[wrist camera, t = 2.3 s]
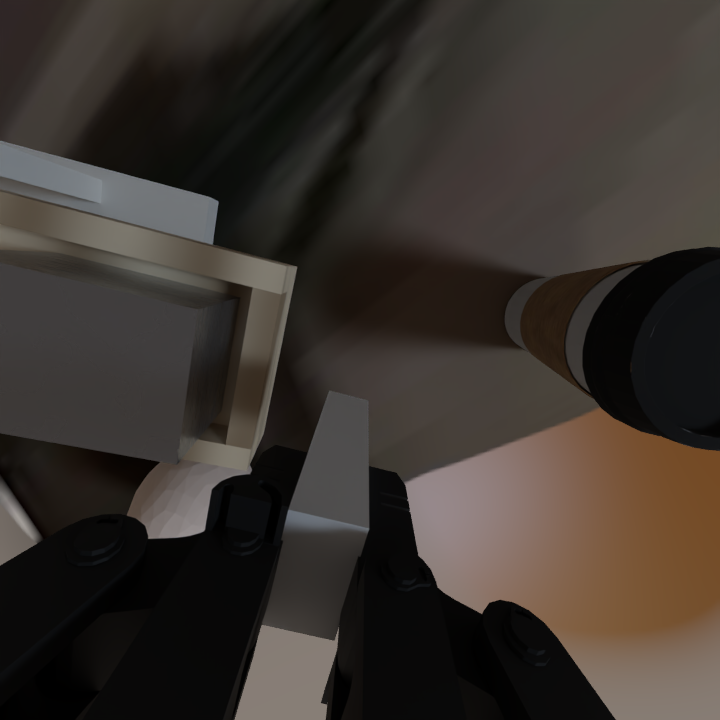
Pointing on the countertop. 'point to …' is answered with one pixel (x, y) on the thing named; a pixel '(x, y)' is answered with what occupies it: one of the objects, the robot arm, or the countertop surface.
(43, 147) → the countertop surface
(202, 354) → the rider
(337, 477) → the robot arm
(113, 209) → the stand
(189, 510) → the egg
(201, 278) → the beam
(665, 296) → the coffee cup
